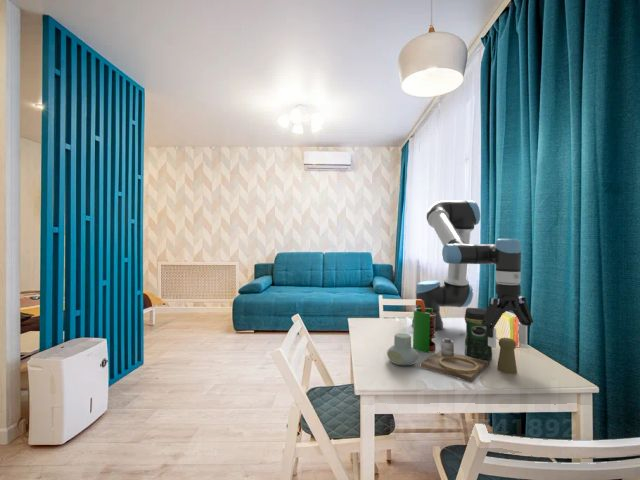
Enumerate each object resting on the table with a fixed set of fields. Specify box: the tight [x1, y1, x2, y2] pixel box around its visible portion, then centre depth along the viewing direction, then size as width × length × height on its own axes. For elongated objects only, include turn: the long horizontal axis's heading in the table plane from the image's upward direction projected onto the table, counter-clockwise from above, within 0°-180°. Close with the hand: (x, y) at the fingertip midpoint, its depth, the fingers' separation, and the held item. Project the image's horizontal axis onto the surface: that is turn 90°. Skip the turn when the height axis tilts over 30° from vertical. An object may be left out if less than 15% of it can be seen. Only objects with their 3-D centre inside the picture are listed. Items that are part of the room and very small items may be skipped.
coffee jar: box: [464, 307, 493, 361], centre depth 123 cm, size 10×8×19 cm
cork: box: [496, 337, 518, 375], centre depth 110 cm, size 6×6×11 cm
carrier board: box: [420, 337, 489, 383], centre depth 113 cm, size 18×17×8 cm
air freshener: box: [386, 332, 419, 367], centre depth 116 cm, size 11×8×10 cm
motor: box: [412, 298, 437, 353], centre depth 132 cm, size 10×9×20 cm
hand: (507, 345), depth 110 cm, fingers open, 13 cm apart
